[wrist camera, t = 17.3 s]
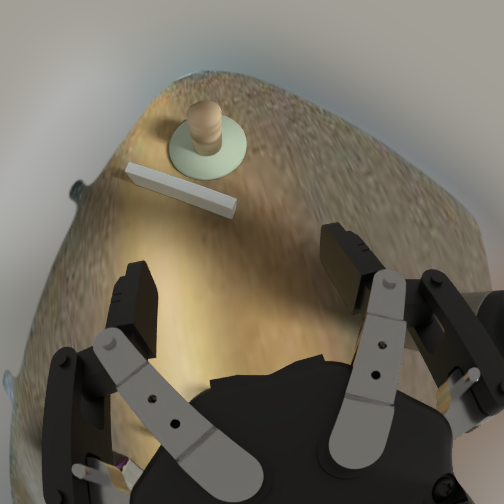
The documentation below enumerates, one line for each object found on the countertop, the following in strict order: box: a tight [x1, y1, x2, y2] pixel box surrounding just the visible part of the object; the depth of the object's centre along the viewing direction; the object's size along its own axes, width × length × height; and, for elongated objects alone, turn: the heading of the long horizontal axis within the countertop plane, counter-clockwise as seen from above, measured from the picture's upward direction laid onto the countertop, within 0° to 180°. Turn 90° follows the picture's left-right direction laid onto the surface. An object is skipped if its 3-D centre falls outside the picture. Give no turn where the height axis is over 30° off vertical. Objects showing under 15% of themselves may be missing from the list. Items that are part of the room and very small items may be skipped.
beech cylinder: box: [187, 101, 222, 156], centre depth 36 cm, size 4×4×8 cm
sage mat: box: [169, 115, 246, 180], centre depth 41 cm, size 12×12×1 cm
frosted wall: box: [125, 162, 237, 219], centre depth 37 cm, size 16×2×5 cm, turn 69°
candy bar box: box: [115, 458, 143, 490], centre depth 24 cm, size 11×5×16 cm, turn 132°
